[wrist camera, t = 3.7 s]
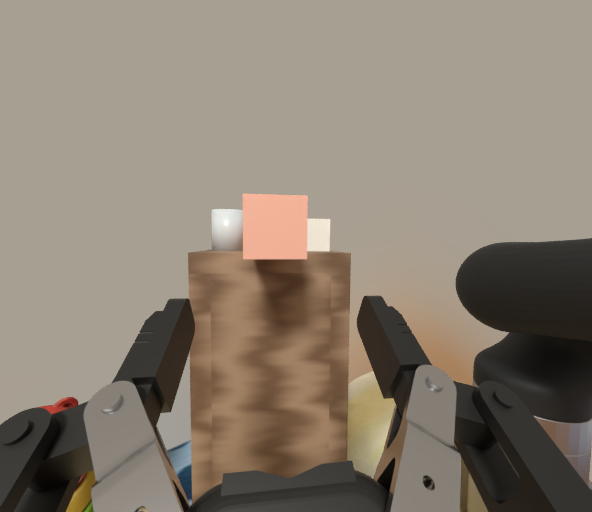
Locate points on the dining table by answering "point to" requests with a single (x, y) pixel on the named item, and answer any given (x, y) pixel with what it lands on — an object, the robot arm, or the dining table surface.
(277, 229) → the coral bar brick
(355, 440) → the dining table surface
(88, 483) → the stacking bear
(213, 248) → the grey-blue round brick
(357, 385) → the dining table surface
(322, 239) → the off-white block brick
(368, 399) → the dining table surface
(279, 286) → the walnut shelf
